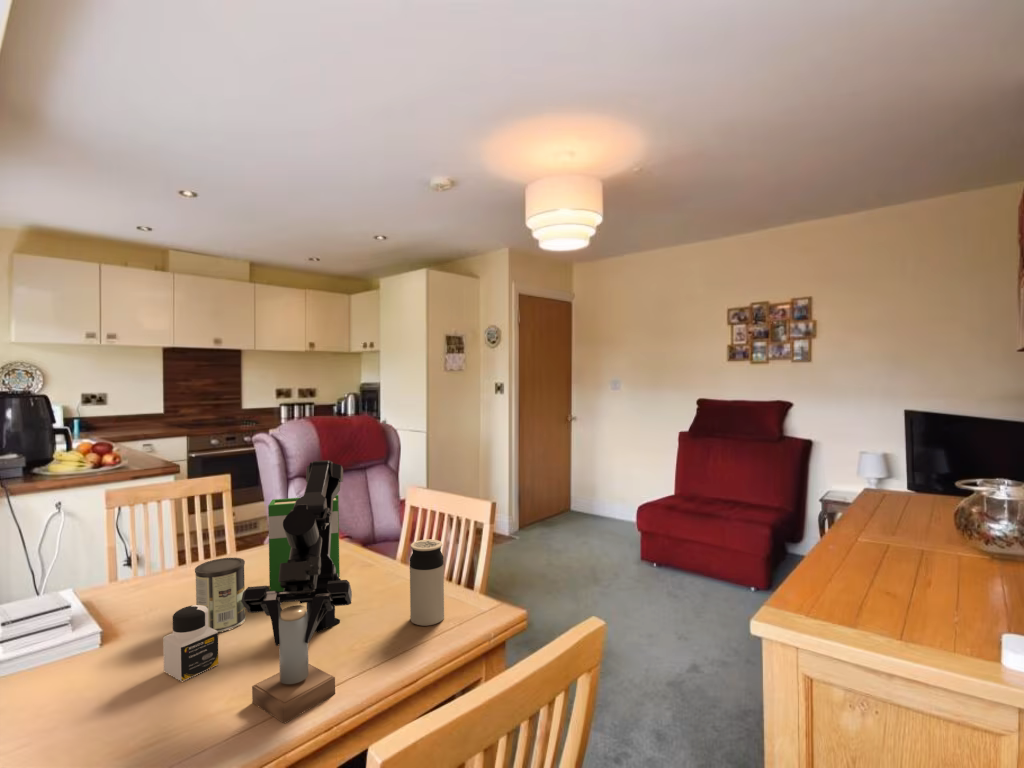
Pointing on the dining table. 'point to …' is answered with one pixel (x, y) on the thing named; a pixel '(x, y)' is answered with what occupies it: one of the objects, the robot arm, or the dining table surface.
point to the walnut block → (293, 694)
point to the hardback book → (279, 542)
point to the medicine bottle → (190, 644)
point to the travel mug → (426, 582)
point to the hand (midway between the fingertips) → (291, 643)
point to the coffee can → (221, 592)
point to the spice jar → (293, 644)
